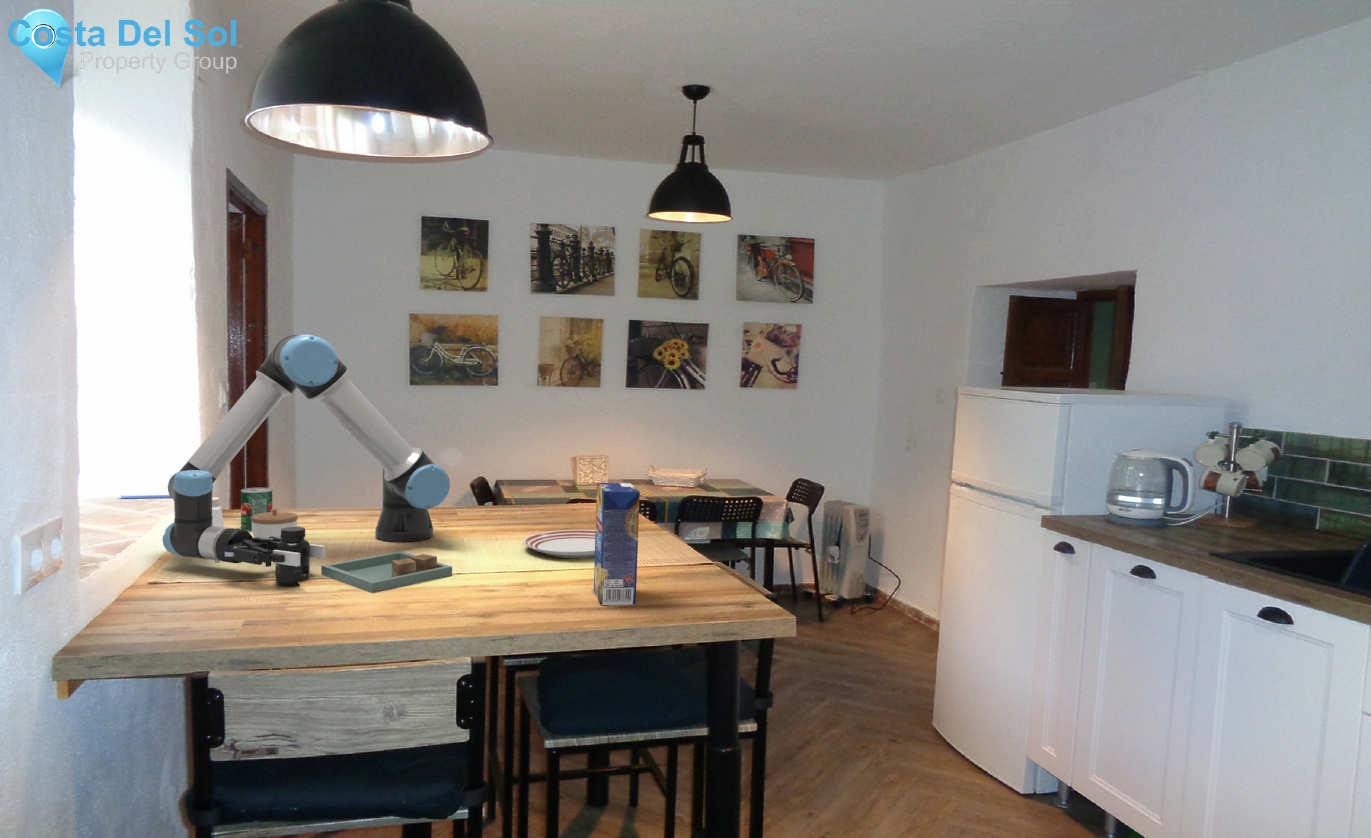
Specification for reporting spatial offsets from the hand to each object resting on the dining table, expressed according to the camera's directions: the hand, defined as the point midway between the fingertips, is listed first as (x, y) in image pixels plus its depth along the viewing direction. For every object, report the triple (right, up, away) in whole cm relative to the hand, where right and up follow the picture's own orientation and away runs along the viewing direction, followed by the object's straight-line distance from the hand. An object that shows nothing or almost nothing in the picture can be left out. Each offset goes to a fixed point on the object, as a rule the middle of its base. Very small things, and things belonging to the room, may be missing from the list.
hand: (311, 556), depth 184 cm
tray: (+13, -6, +8) cm, 17 cm away
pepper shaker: (-42, -2, +39) cm, 57 cm away
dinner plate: (+51, -6, +43) cm, 67 cm away
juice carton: (+65, -9, +1) cm, 66 cm away
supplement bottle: (-5, -6, +2) cm, 8 cm away
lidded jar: (-25, -3, +35) cm, 43 cm away
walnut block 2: (+21, -6, +10) cm, 24 cm away
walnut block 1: (+18, -6, +5) cm, 20 cm away
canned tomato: (-38, -1, +53) cm, 66 cm away
